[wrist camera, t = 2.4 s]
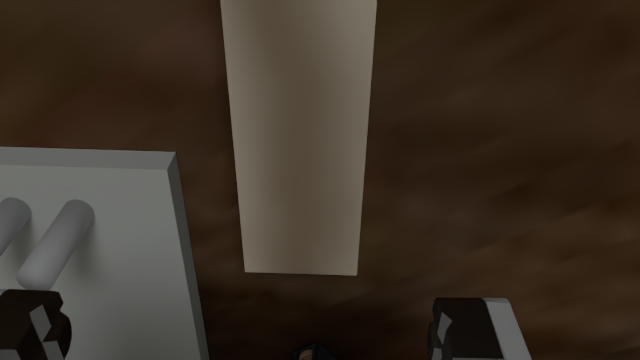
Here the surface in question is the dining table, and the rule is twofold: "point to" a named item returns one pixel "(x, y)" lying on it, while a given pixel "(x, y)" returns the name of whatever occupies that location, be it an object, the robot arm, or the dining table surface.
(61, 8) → the dining table surface
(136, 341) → the peg stand
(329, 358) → the ammunition clip
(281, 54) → the tan bar
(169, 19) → the dining table surface
